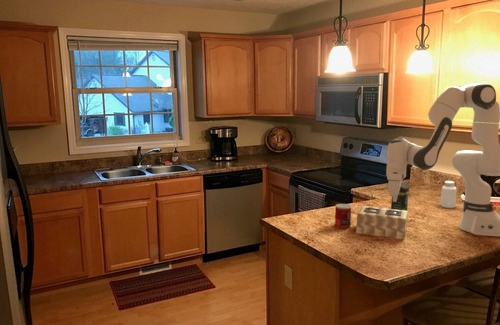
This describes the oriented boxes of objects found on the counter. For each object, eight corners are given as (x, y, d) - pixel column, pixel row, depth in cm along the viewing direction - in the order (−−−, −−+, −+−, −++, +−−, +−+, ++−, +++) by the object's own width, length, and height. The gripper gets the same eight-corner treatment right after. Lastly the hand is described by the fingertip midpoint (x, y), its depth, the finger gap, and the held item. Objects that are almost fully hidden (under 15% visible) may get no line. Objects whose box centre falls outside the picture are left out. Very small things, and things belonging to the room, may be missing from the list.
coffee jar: (403, 221, 218) (405, 187, 214) (388, 218, 222) (390, 184, 219) (409, 216, 225) (411, 183, 222) (394, 214, 230) (396, 181, 227)
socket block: (406, 230, 204) (407, 209, 202) (404, 239, 191) (405, 218, 189) (360, 224, 212) (361, 205, 211) (356, 233, 200) (357, 212, 198)
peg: (397, 231, 201) (398, 211, 199) (396, 234, 197) (397, 214, 195) (388, 230, 202) (389, 210, 201) (387, 232, 199) (388, 213, 197)
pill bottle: (440, 207, 242) (442, 182, 240) (440, 204, 249) (442, 179, 247) (455, 209, 239) (457, 183, 237) (454, 205, 247) (456, 180, 244)
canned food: (341, 230, 204) (342, 208, 202) (331, 225, 211) (332, 204, 209) (353, 227, 208) (354, 206, 206) (343, 223, 215) (344, 202, 213)
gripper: (391, 167, 205) (390, 194, 208) (386, 176, 187) (385, 206, 189) (404, 168, 202) (403, 195, 205) (401, 177, 184) (400, 207, 187)
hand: (394, 200), depth 197 cm, fingers closed
